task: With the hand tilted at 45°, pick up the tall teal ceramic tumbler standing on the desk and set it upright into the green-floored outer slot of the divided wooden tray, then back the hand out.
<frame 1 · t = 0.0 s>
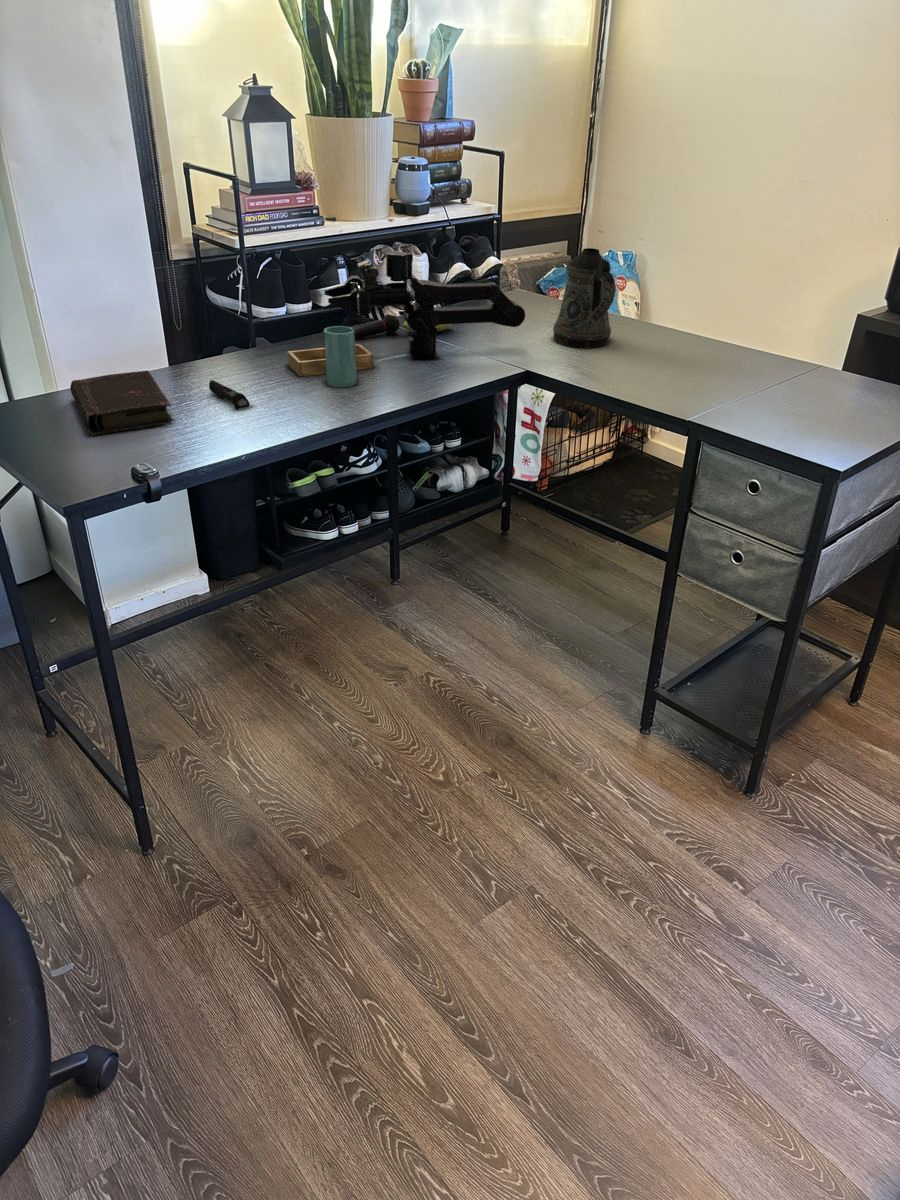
hand: (326, 296, 227), 17 cm above the table, tool horizontal, fingers open, 9 cm apart
tumbler: (341, 382, 220), on the table
divided wooden tray: (330, 366, 231), on the table
electric trimmer: (228, 401, 208), on the table
microphone: (368, 337, 257), on the table
diary: (123, 412, 200), on the table
beer stein: (585, 342, 256), on the table
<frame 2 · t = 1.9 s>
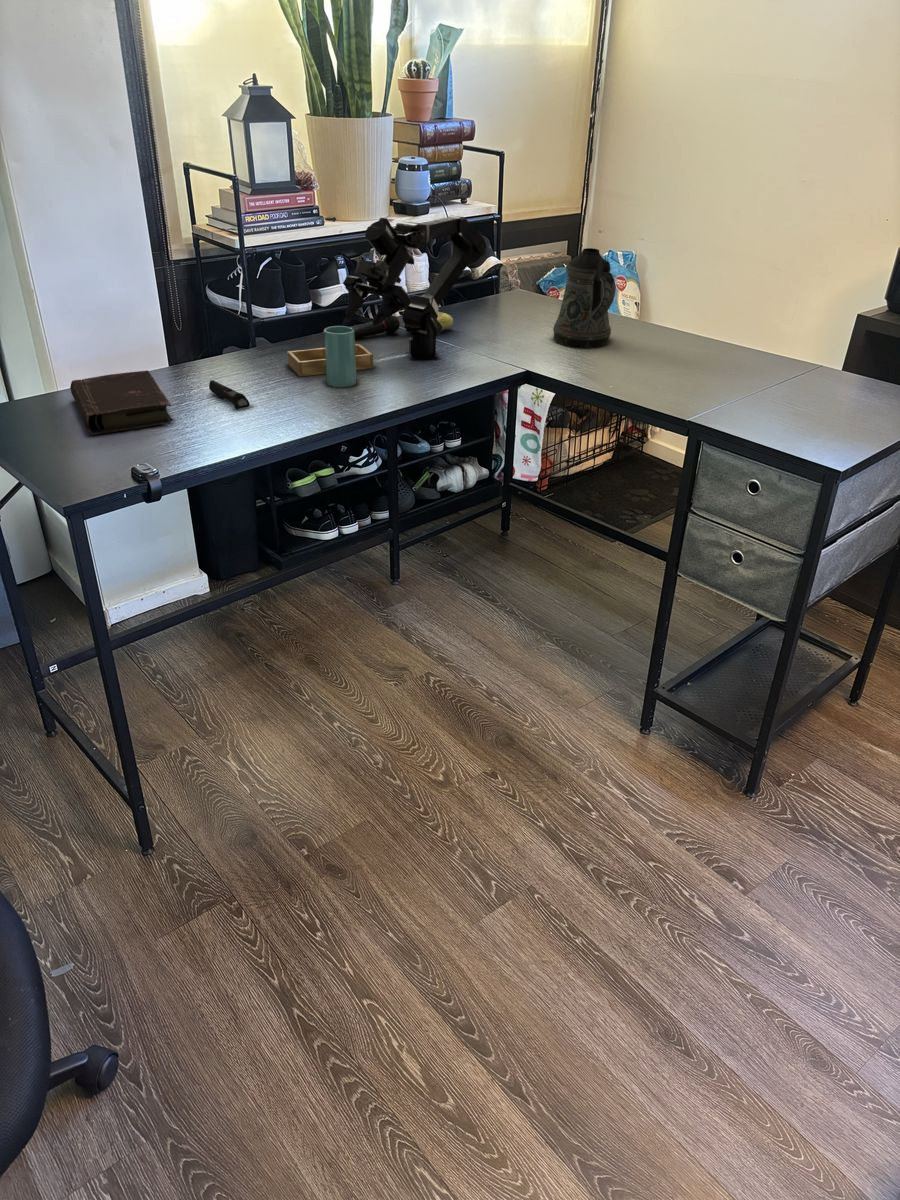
hand: (360, 320, 218), 14 cm above the table, tool tilted 45°, fingers open, 9 cm apart
nothing on the table moved.
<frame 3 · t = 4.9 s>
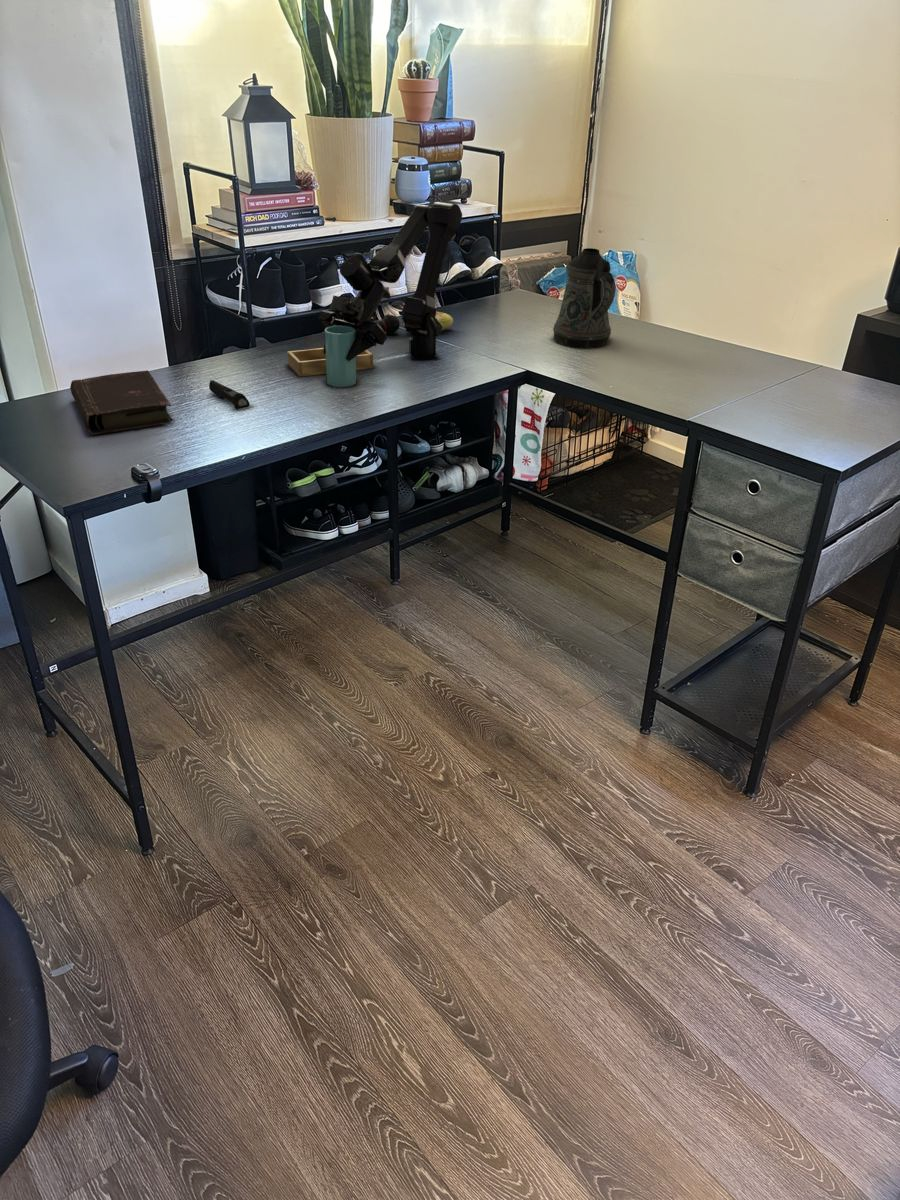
hand: (335, 356, 216), 7 cm above the table, tool tilted 45°, fingers closed on tumbler, 7 cm apart
tumbler: (341, 382, 220), on the table, touching gripper
everything else where it was.
when the fingers open (8 cm above the table, at t = 11.7 s): tumbler stays where it is, resting on divided wooden tray.
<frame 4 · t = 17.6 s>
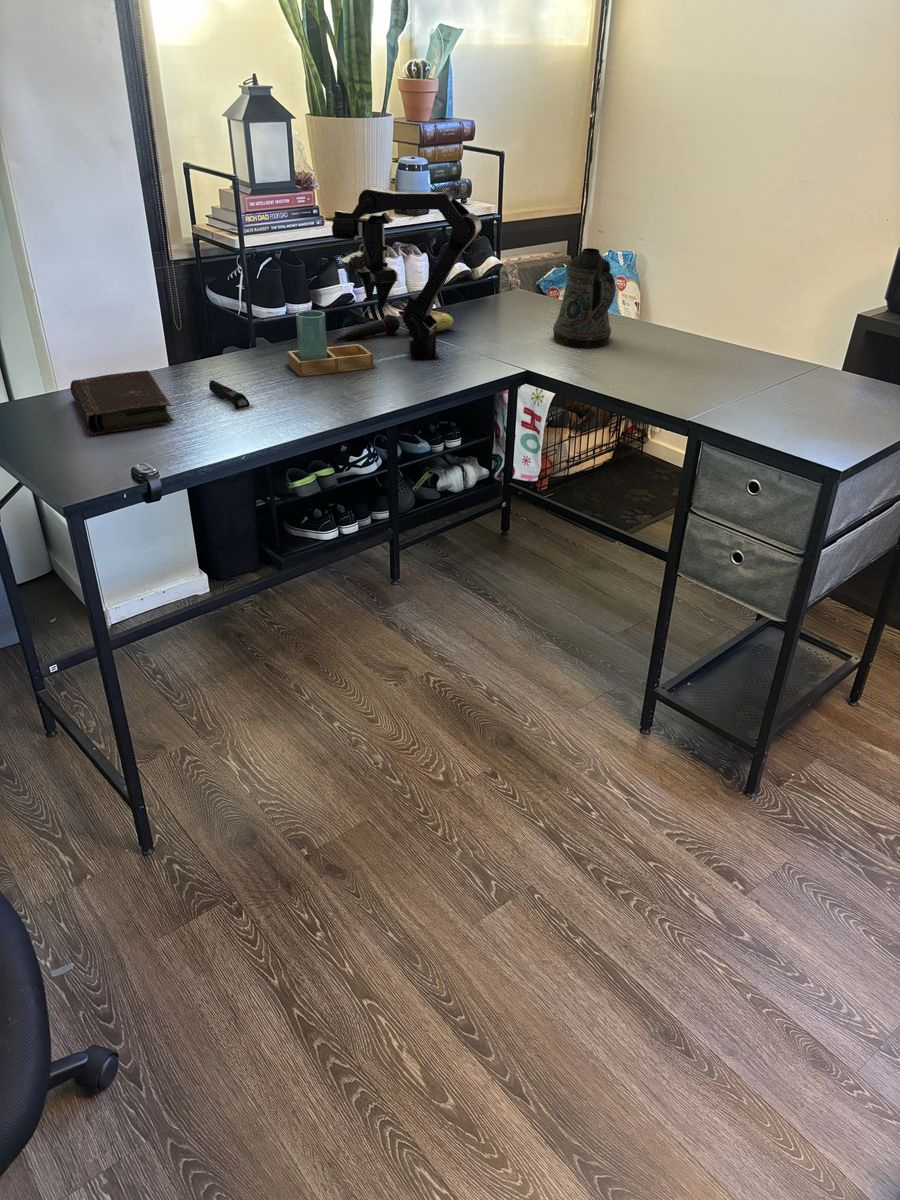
hand: (375, 303, 236), 13 cm above the table, tool pointing down, fingers open, 9 cm apart
tumbler: (313, 365, 229), point 1 cm above the table, touching divided wooden tray
everything else where it was.
at the end: tumbler 0.5 cm from the target spot in the divided wooden tray, point 0.8 cm above the divided wooden tray's base; tumbler tilted 0°; the gripper is holding nothing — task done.
